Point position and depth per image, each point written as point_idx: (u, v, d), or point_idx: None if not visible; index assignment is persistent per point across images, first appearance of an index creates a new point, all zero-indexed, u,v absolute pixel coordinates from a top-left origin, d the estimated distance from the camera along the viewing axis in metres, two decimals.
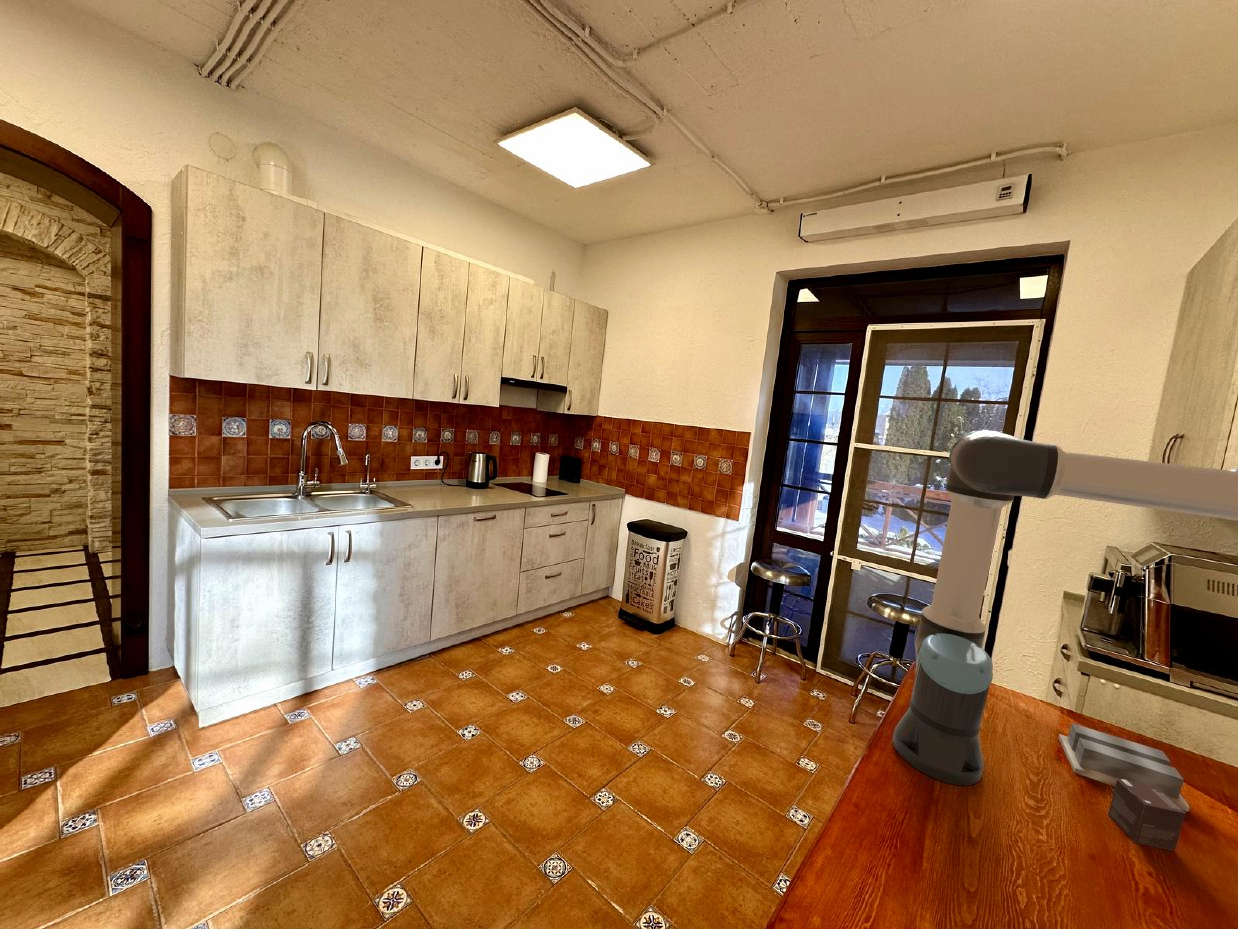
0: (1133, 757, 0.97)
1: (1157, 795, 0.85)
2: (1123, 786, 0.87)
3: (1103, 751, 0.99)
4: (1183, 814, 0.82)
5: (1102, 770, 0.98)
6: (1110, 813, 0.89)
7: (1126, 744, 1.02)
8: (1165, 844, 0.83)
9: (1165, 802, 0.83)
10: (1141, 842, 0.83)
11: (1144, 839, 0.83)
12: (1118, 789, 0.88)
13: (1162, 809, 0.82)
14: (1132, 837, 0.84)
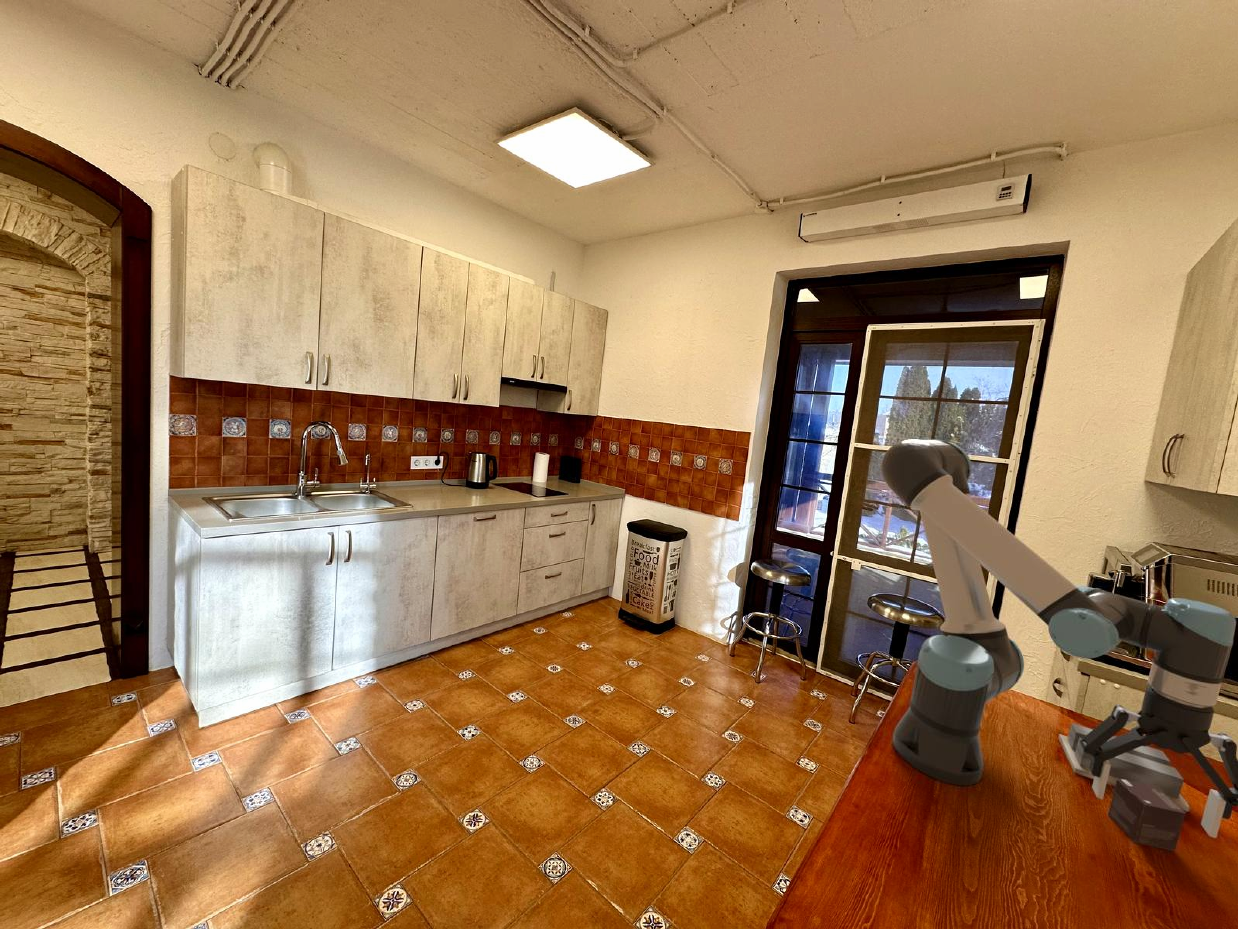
0: (1133, 757, 0.97)
1: (1157, 795, 0.85)
2: (1123, 786, 0.87)
3: None
4: (1183, 814, 0.82)
5: None
6: (1110, 813, 0.89)
7: None
8: (1165, 844, 0.83)
9: (1165, 802, 0.83)
10: (1141, 842, 0.83)
11: (1144, 839, 0.83)
12: (1118, 789, 0.88)
13: (1162, 809, 0.82)
14: (1132, 837, 0.84)
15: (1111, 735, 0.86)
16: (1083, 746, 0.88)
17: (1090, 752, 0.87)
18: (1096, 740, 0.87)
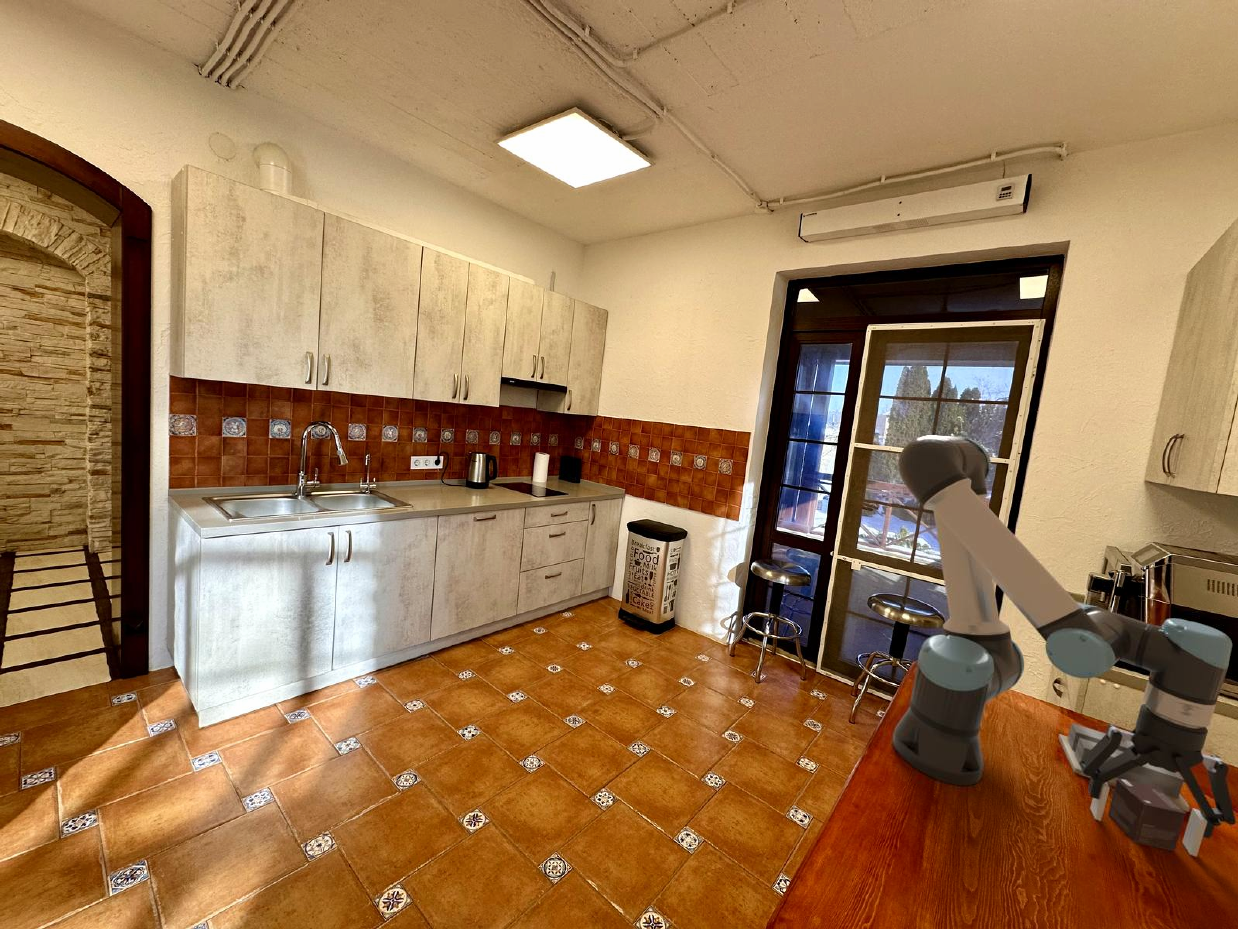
0: None
1: (1157, 795, 0.85)
2: (1123, 786, 0.87)
3: None
4: (1183, 814, 0.82)
5: None
6: (1110, 813, 0.89)
7: (1126, 744, 1.02)
8: (1165, 844, 0.83)
9: (1165, 802, 0.83)
10: (1141, 842, 0.83)
11: (1144, 839, 0.83)
12: (1118, 789, 0.88)
13: (1162, 809, 0.82)
14: (1132, 837, 0.84)
15: (1108, 756, 0.86)
16: (1082, 768, 0.88)
17: (1090, 774, 0.87)
18: (1094, 762, 0.87)
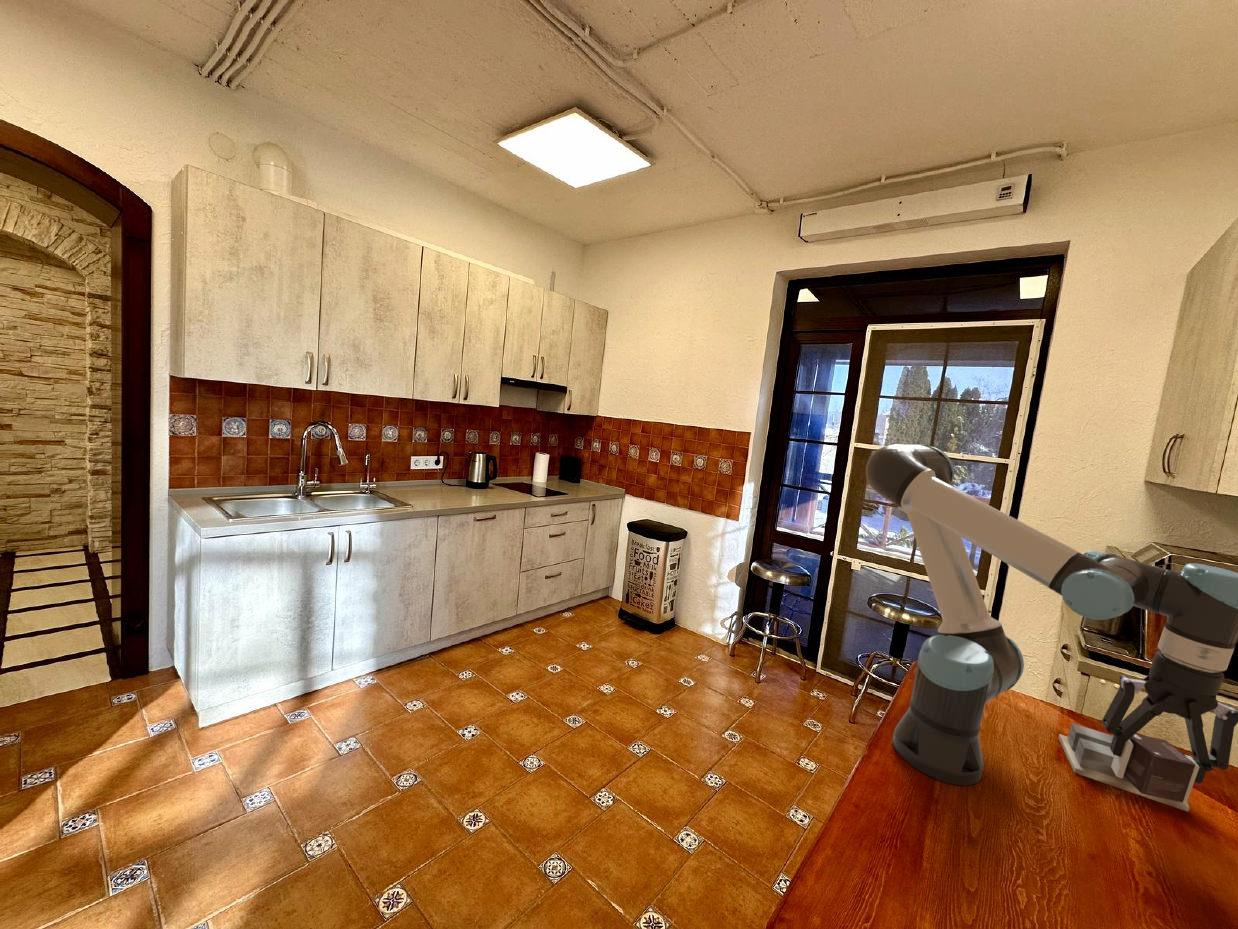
0: None
1: (1167, 748, 0.84)
2: (1132, 739, 0.86)
3: (1103, 751, 0.99)
4: (1193, 766, 0.81)
5: (1102, 770, 0.98)
6: None
7: None
8: (1173, 795, 0.82)
9: (1175, 754, 0.82)
10: (1148, 793, 0.82)
11: (1152, 790, 0.82)
12: None
13: (1171, 760, 0.81)
14: (1139, 789, 0.83)
15: (1126, 708, 0.84)
16: (1105, 726, 0.86)
17: (1113, 731, 0.86)
18: (1114, 717, 0.85)
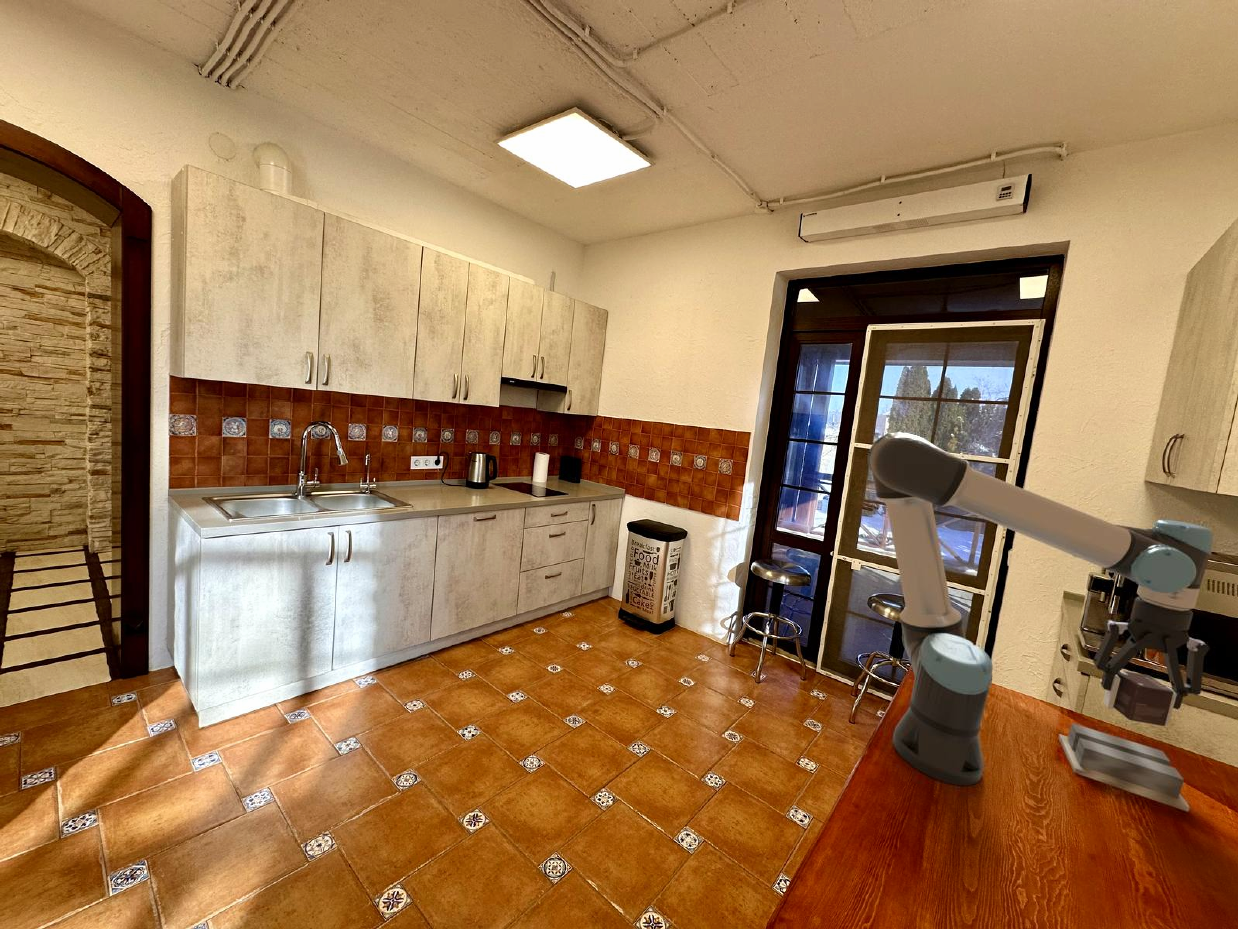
0: (1133, 757, 0.97)
1: (1149, 680, 0.97)
2: (1119, 675, 0.99)
3: (1103, 751, 0.99)
4: (1171, 693, 0.94)
5: (1102, 770, 0.98)
6: None
7: (1126, 744, 1.02)
8: (1156, 720, 0.95)
9: (1156, 685, 0.96)
10: (1135, 719, 0.96)
11: (1138, 716, 0.96)
12: None
13: (1153, 689, 0.95)
14: (1127, 716, 0.96)
15: (1112, 647, 0.98)
16: (1096, 665, 1.00)
17: (1103, 668, 0.99)
18: (1103, 656, 0.99)
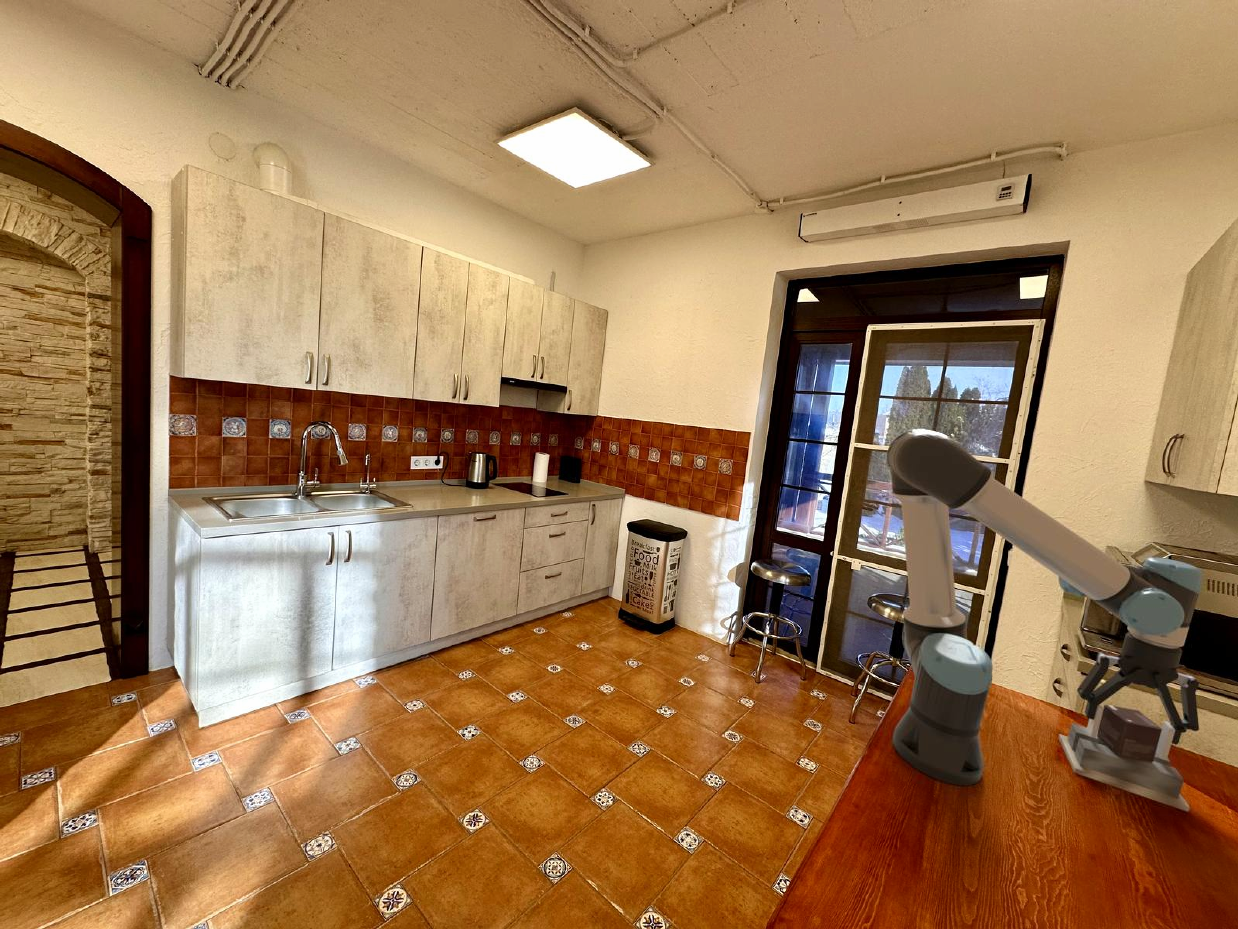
0: None
1: (1138, 716, 0.98)
2: (1109, 710, 1.00)
3: (1103, 751, 0.99)
4: (1160, 730, 0.95)
5: (1102, 770, 0.98)
6: (1098, 735, 1.02)
7: None
8: (1144, 756, 0.96)
9: (1145, 721, 0.97)
10: (1124, 755, 0.97)
11: (1126, 752, 0.97)
12: (1105, 713, 1.01)
13: (1141, 726, 0.96)
14: (1116, 751, 0.98)
15: (1099, 679, 1.00)
16: (1080, 693, 1.02)
17: (1086, 697, 1.01)
18: (1088, 686, 1.01)
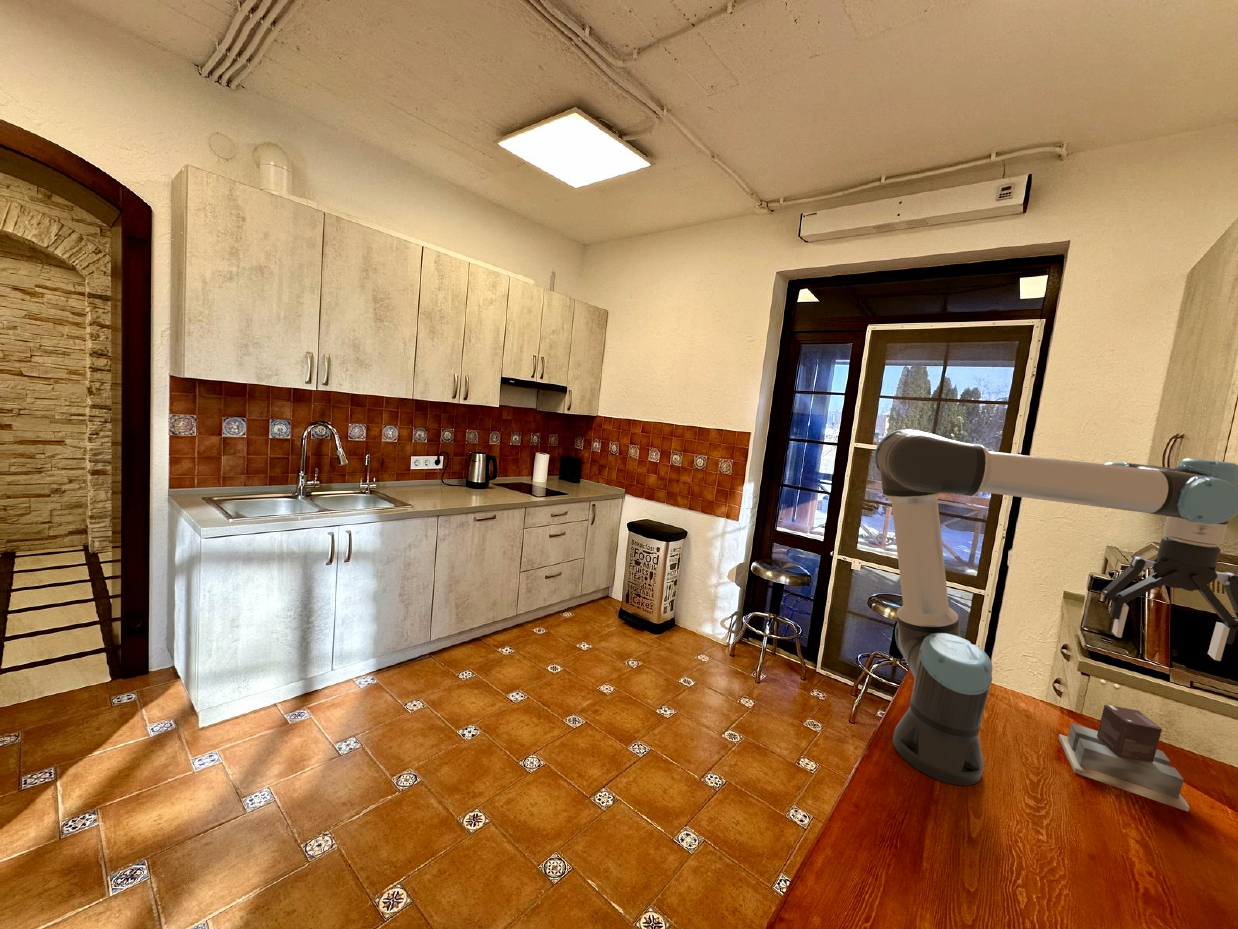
0: None
1: (1138, 716, 0.98)
2: (1109, 710, 1.00)
3: (1103, 751, 0.99)
4: (1160, 730, 0.95)
5: (1102, 770, 0.98)
6: (1098, 735, 1.02)
7: None
8: (1144, 756, 0.96)
9: (1145, 721, 0.97)
10: (1124, 755, 0.97)
11: (1126, 752, 0.97)
12: (1105, 713, 1.01)
13: (1141, 726, 0.96)
14: (1116, 751, 0.98)
15: (1129, 580, 0.99)
16: (1104, 593, 1.01)
17: (1111, 597, 1.00)
18: (1116, 586, 1.00)
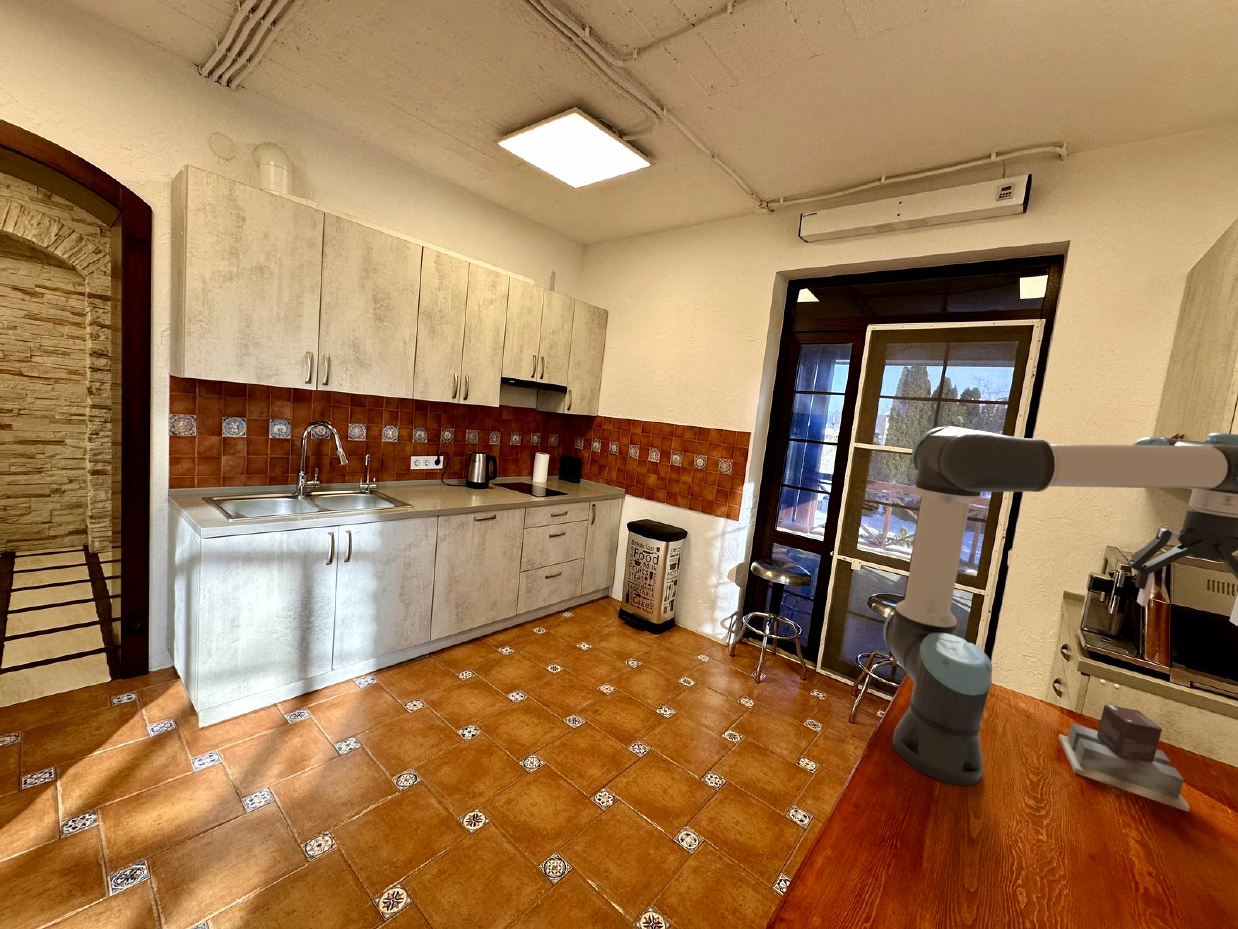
0: None
1: (1138, 716, 0.98)
2: (1109, 710, 1.00)
3: (1103, 751, 0.99)
4: (1160, 730, 0.95)
5: (1102, 770, 0.98)
6: (1098, 735, 1.02)
7: None
8: (1144, 756, 0.96)
9: (1145, 721, 0.97)
10: (1124, 755, 0.97)
11: (1126, 752, 0.97)
12: (1105, 713, 1.01)
13: (1141, 726, 0.96)
14: (1116, 751, 0.98)
15: (1156, 551, 1.03)
16: (1131, 564, 1.05)
17: (1137, 568, 1.04)
18: (1143, 557, 1.04)
